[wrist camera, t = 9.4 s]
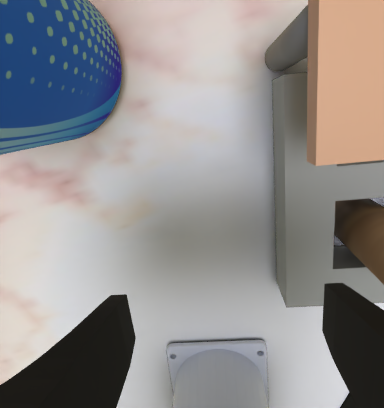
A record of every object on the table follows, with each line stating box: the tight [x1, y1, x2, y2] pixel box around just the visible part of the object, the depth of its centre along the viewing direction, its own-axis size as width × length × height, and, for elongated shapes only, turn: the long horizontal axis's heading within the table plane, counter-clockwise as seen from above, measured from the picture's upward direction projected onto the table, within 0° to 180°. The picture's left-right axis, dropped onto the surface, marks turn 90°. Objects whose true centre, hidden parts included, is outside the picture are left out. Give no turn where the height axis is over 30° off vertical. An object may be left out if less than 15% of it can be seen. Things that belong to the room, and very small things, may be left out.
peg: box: [334, 198, 384, 285], centre depth 17 cm, size 3×3×7 cm
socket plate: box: [272, 72, 384, 307], centre depth 18 cm, size 14×10×3 cm
